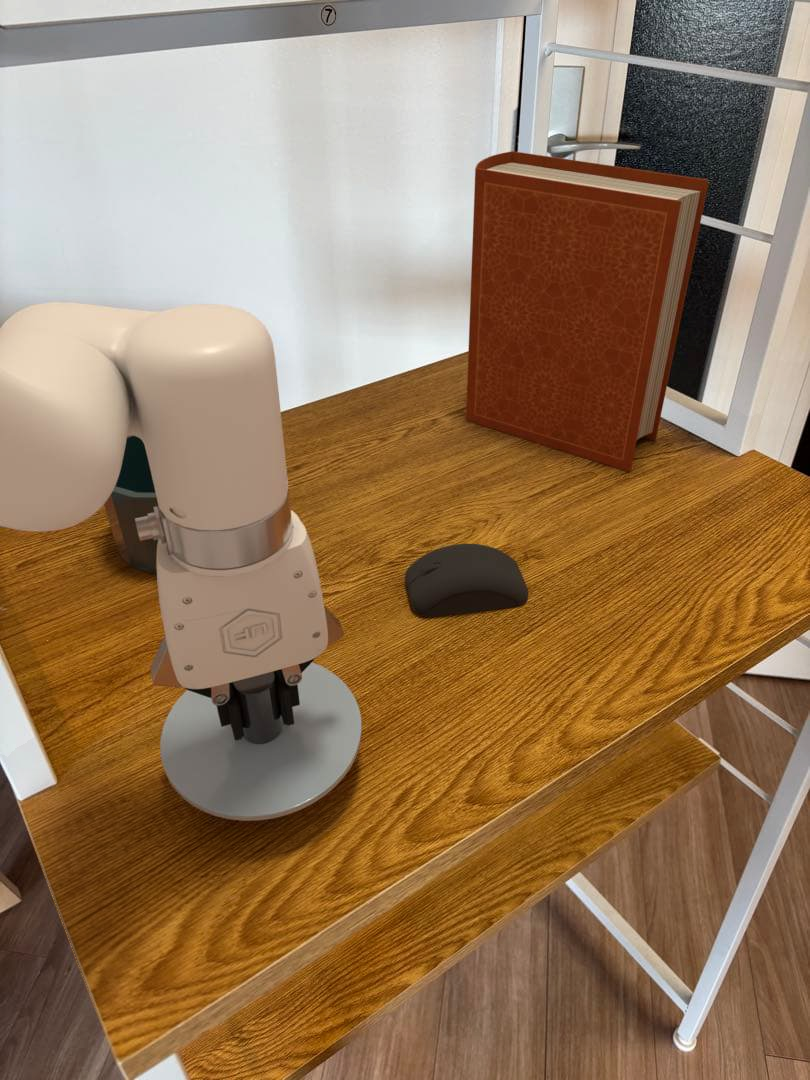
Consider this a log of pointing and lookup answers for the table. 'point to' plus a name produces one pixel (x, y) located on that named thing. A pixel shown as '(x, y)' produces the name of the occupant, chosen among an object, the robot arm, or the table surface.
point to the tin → (133, 507)
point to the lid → (262, 747)
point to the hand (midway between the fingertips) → (260, 716)
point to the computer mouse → (464, 581)
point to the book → (577, 300)
